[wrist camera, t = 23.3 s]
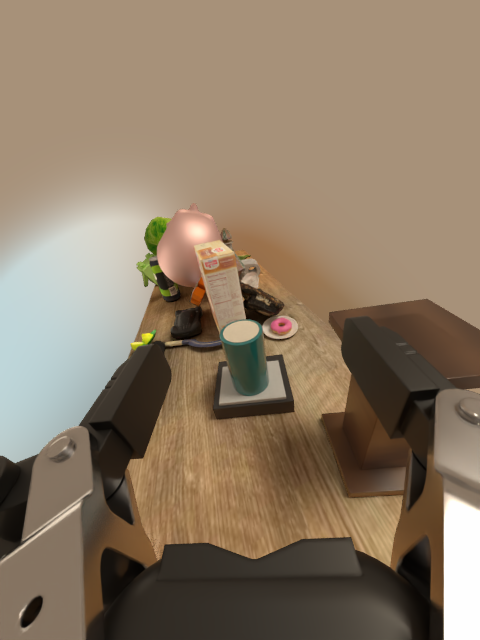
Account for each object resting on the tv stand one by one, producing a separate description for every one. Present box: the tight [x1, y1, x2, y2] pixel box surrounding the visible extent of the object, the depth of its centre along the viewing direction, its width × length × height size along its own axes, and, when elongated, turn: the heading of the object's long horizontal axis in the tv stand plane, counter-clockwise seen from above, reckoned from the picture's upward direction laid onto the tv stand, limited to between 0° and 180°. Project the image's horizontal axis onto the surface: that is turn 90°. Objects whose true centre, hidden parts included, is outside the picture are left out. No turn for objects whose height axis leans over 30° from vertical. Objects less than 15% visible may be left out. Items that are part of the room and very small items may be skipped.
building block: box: [190, 275, 206, 306], centre depth 57 cm, size 6×6×3 cm
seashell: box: [241, 271, 259, 289], centre depth 68 cm, size 8×5×8 cm
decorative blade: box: [149, 339, 222, 347], centre depth 49 cm, size 21×1×5 cm
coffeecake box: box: [194, 240, 246, 334], centre depth 51 cm, size 15×7×20 cm, turn 16°
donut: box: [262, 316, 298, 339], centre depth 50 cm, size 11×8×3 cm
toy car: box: [171, 306, 202, 339], centre depth 57 cm, size 7×15×4 cm, turn 8°
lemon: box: [131, 330, 156, 350], centre depth 50 cm, size 8×8×3 cm
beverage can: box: [149, 256, 181, 302], centre depth 72 cm, size 6×6×15 cm
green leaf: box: [238, 255, 250, 260], centre depth 105 cm, size 11×15×1 cm
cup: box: [220, 319, 269, 396], centre depth 31 cm, size 6×6×10 cm
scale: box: [213, 355, 294, 419], centre depth 35 cm, size 12×10×3 cm
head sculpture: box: [157, 203, 222, 287], centre depth 68 cm, size 20×26×30 cm
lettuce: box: [144, 217, 171, 256], centre depth 87 cm, size 17×20×15 cm
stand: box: [321, 299, 480, 498], centre depth 21 cm, size 9×9×18 cm
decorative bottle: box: [220, 228, 245, 281], centre depth 71 cm, size 10×10×20 cm
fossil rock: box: [239, 281, 284, 316], centre depth 53 cm, size 14×14×6 cm
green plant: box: [137, 253, 158, 287], centre depth 92 cm, size 15×14×11 cm
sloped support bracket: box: [239, 259, 260, 280], centre depth 80 cm, size 6×18×8 cm
